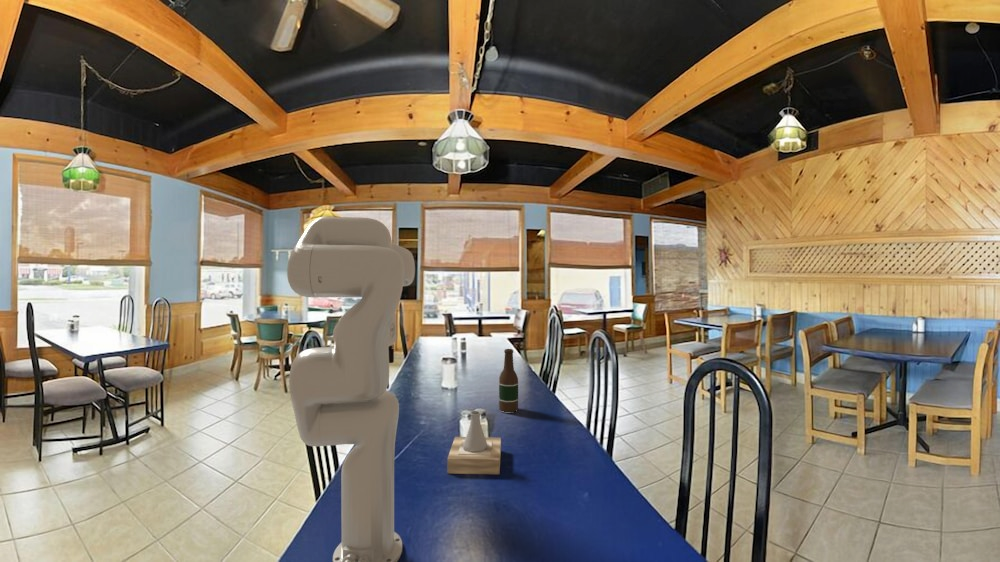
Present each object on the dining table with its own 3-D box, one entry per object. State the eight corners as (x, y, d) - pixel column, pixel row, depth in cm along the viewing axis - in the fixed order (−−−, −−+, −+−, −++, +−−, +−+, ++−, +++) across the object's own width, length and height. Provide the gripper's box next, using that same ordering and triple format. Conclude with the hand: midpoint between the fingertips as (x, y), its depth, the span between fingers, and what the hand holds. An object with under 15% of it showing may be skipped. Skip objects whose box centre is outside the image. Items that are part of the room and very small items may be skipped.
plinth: (499, 474, 105) (499, 458, 105) (447, 473, 106) (447, 457, 105) (500, 450, 119) (500, 437, 119) (454, 449, 120) (454, 436, 119)
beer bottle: (496, 412, 151) (496, 350, 151) (501, 406, 159) (502, 347, 158) (515, 414, 149) (516, 352, 149) (520, 408, 157) (520, 348, 156)
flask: (484, 454, 108) (484, 417, 108) (459, 451, 109) (459, 415, 109) (490, 442, 115) (490, 409, 115) (466, 440, 116) (466, 407, 116)
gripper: (385, 306, 97) (385, 375, 98) (404, 301, 115) (404, 359, 115) (355, 306, 98) (355, 375, 98) (379, 301, 115) (379, 359, 115)
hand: (382, 366), depth 106 cm, fingers open, 9 cm apart
